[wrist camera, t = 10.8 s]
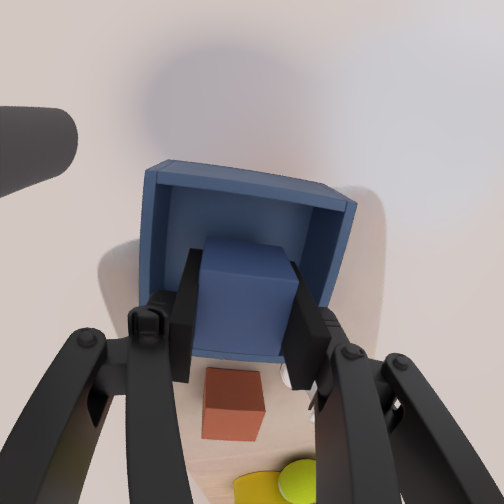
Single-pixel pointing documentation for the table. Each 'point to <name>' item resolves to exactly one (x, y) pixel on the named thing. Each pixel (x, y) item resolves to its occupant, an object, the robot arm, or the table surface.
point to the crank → (258, 489)
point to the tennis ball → (299, 482)
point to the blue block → (243, 297)
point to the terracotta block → (232, 405)
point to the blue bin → (239, 226)
